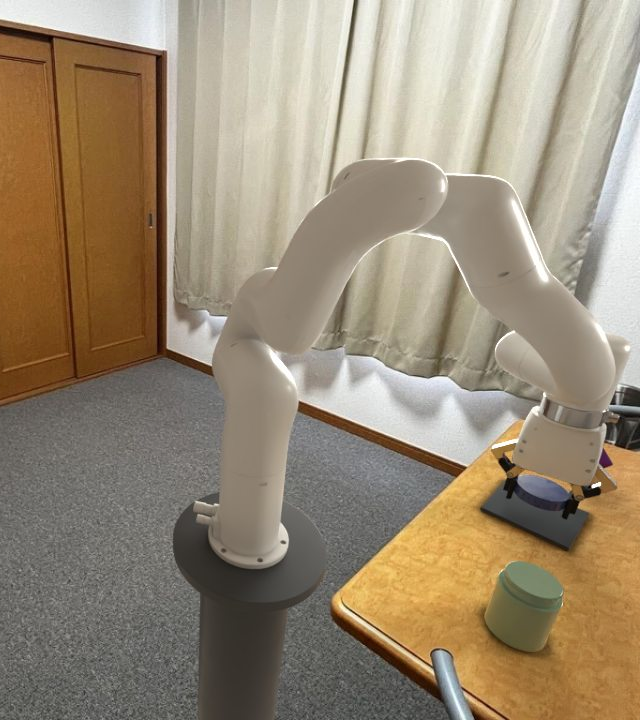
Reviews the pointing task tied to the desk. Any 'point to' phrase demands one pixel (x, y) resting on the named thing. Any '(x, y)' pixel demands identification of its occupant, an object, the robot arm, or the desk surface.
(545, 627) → the jar
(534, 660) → the desk surface
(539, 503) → the lid
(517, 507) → the plate
